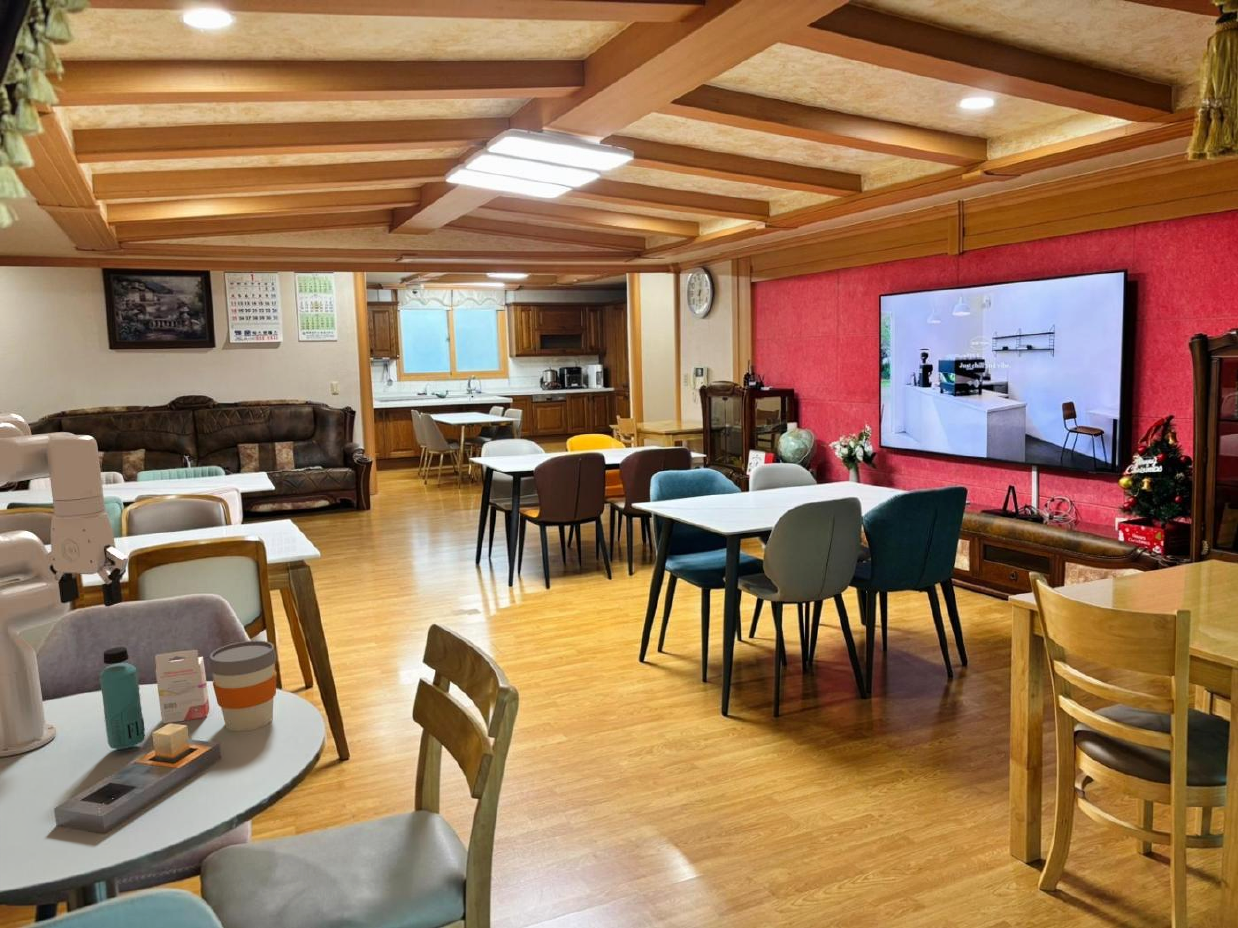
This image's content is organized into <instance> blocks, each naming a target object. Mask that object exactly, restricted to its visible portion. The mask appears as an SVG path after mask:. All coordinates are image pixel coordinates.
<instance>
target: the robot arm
mask: <svg viewBox="0 0 1238 928" xmlns="http://www.w3.org/2000/svg"><path fill="white" fill-rule="evenodd" d="M31 431H32V430H31V428H30V425H29V424H28V422H27V421H26V420H25V419H24V418H23V417H22V416H20V415H18V414H16V413H11V412H1V413H0V487H3V486H5V485H6V484H7V483H14V482H21V481H27V480H35V479H41V478H46V477H48V478H49V480H50V488H51V489H50V490H51V496H52V506H53V512H54V515H53V516H52V517H51V522H50V523H51V525H50V550H51V551H50V552H48V550H47V547H46V546H45V545H44V542H43V541H42V540H41V539H40V537H38V536H37V535H36V534H35V533H33V532H30V531H28V530H22V529H21V530H13V531H7V532H3V533H0V584H1V583H5V582H9V581H14V580H17V579H19V580H20V581H16V582H11V583H6V584H2V585H0V758H1V757H10V756H14V755H19V754H23V753H26V752H29V751H32V750H34V749H37V748H39V747H42V746H44V745H45V744H48V743H50V742H51V741H52V740H53V739H54V738H55V737H56V735H57V729H56V726H54V725H52V724H50V723H46V717H45V711H44V710H45V709H44V702H43V695H42V689H41V688H42V687H41V682H40V681H41V680H40V674H39V668H38V667H39V666H38V660H37V653H36V652H35V649H34V647H33V646H32V645H31V644H30V643H29V642H27V641H26V640H24V639H23V638H22V637H21V636H20V633H21V632H24V631H26V630H29V629H32V628H37V627H39V626H44V625H46V624H49V623H53V622H55V621H58V620H60V619H62V618H64V617H65V615H66V614H67V613H68V611H69V609H70V605H71V604H70V603H71V602H73V601H77V600H78V599H79V598H80V594H79V593H80V592H79V586H78V580H77V576H74V575H94V574H97V575H99V577H100V579H101V580H102V581H103V584H101V587H102V588H101V590H102V597H103V605H104V607H111V606H114V605H117V604H120V603H122V601H123V596H122V588H121V587H122V586H121V581H122V580H123V577H124V575H125V573H126V572H127V566H128V562H129V558H128V557H127V556H126V555H124V554H123V553H122V552H120V551H118V550H117V549H116V542H115V538H114V537H115V536H114V533H113V529H112V525H111V522H110V518H109V515H108V513H107V512H106V505H105V499H104V497H105V496H104V489H103V481H102V475H101V472H102V471H101V467H100V466H101V465H100V458H99V450H98V448H99V447H98V443H97V440H96V439H95V437H93V436H91V435H87V434H74V433H71V432H64V431H60V432H50V433H41V434H40V433H39V434H32V432H31ZM108 572H109V573H108Z"/></svg>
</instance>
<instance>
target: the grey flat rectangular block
mask: <svg viewBox="0 0 1238 928" xmlns="http://www.w3.org/2000/svg"><path fill="white" fill-rule="evenodd" d="M189 746H190V754H189V755H188V756H186V757H185V758H183V759H181V760H180V761H178V762H176V763H175V764H170V763H163V762H156V759H155V751H154V750H152V751H150V752H148V753H146V754H145V755H143V756H140V757H139V758H138V759H136V760H134V761H133V762H132V763H129V764H128V765H127V766H125V767H122V768H121V769H119V770H117V771H116V772H114V773H113V774H111V775H109V776H107V777H106V778H104V779H102V780H101V781H99V782H97V783H95V784H94V785H92V786H90V787H88V788H87V789H85V790H83V791H81V792H80V793H78V794H77V795H75V796H73V797H71V798H69V799H68V800H66V801H64V802H63V803H61V804H59V805H58V806H56V807H54V809H53V811H54V817H55V824H56V825H55V826H57V827H63V828H68V829H74V830H81V831H85V832H86V831H87V832H92V833H93V832H94V833H99V834H103V835H104V834H107V833H108V832H110V831H111V830H113V829H114V828H116V827H117V826H119V825H120V824H122V823H123V822H125V821H127V820H128V819H129V818H131V817H134V816H135V815H136V814H138V813H140V812H141V811H142V810H143V809H145V808H147V807H148V806H149V805H152V804H153V803H155V802H156V801H158V800H159V799H160V798H162V797H164V796H166V795H167V794H168V793H170V792H172V791H173V790H175V789H176V788H177V787H179V786H180V785H182V784H184V783H185V782H187V781H188V780H190V779H192V777H195V776H196V775H198V774H199V773H201V772H203V771H204V770H205V769H207V768H209V767H210V766H211V765H214V764H215V763H216V762H218V761H219V760H221V759H222V753H221V743H220V742H216V741H215V742H213V741H208V740H207V741H206V740H198V739H190V738H189ZM163 795H164V796H163ZM112 798H113V799H112ZM110 799H111V800H113V802H111V803H109V804H106V803H108V802H109V800H110ZM115 799H117V800H115ZM111 800H110V801H111ZM107 801H108V802H107ZM103 803H105V804H103Z"/></svg>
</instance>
